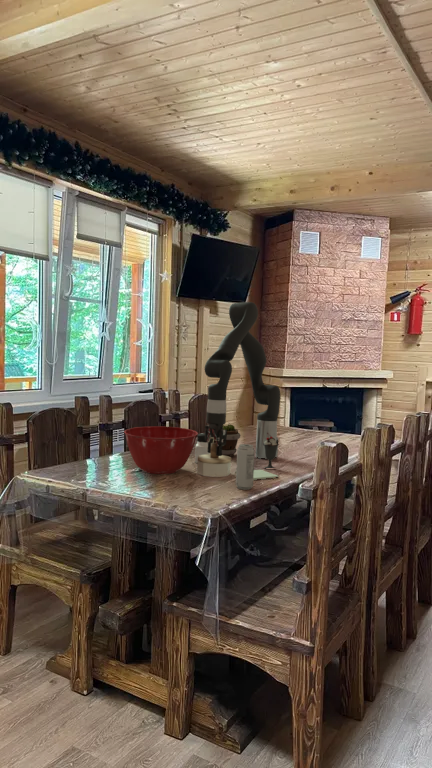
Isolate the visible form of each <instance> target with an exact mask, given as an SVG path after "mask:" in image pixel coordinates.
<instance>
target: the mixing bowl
mask: <svg viewBox="0 0 432 768" xmlns="http://www.w3.org/2000/svg"><path fill="white" fill-rule="evenodd" d="M123 433H124V434H125V439H126V444H127V447H128V450H129V453H130V455H131V458H132V460H133V462H134V464H135V465H136V466H137V467H138V468H139V469H140V470H142V472H144V473H147V474H152V475H153V474H154V475H171V474H175V473H176V472H178V471H180V470H181V469H182V468H184V466H185V465H186V463H187V462H188V460H189V458H190V457H191V453H192V451H193V449H194V448H195V445H196V444H195V443H196V441H197V437H198V434H199V432H197V431H196V430H194V429H193V430H192V429H189V428H185V427H184V428H183V427H175V426H161V425H160V426H159V425H158V426H136V427H131V428H128V429H125V430H124V431H123Z"/></svg>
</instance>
